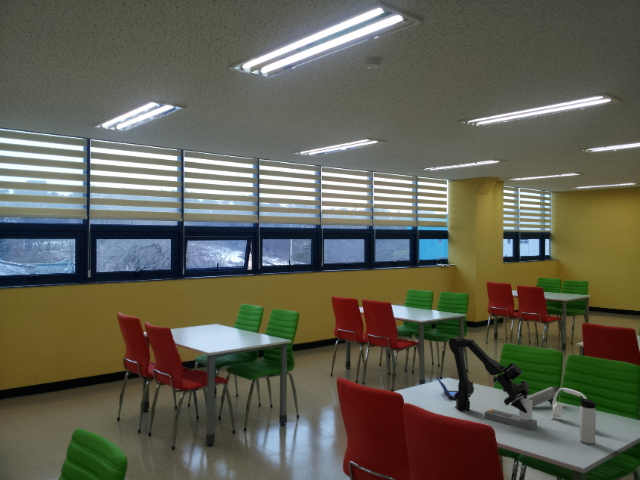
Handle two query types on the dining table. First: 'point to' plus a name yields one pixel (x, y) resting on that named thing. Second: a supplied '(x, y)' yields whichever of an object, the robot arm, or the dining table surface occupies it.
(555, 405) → the headset
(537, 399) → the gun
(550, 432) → the dining table surface
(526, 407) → the plain gray block
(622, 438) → the dining table surface
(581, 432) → the travel mug
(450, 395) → the handheld game console
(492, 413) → the power strip
